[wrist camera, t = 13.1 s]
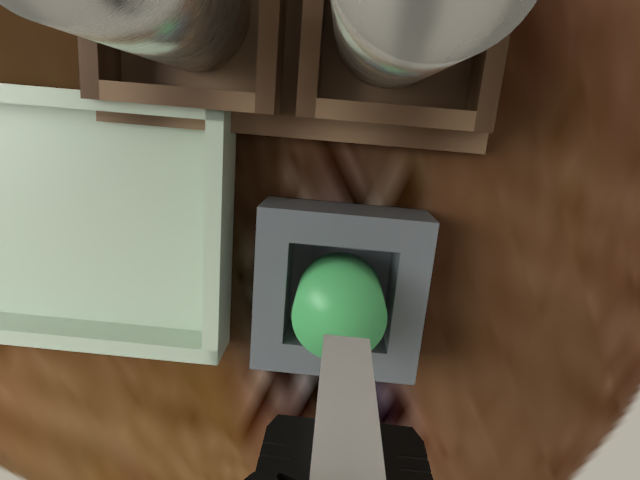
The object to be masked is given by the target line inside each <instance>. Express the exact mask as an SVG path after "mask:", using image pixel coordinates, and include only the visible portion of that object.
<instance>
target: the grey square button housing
mask: <svg viewBox="0 0 640 480" xmlns="http://www.w3.org/2000/svg"><path fill="white" fill-rule="evenodd" d="M439 224H440V223H439V222H438V221H437V220H436V219H435V218H434V217H433V216H432V215H431V214H430V213H429V212H428V211H427V210H420V209H409V208H398V207H387V206H375V205H364V204H353V203H342V202H331V201H319V200H308V199H297V198H286V197H274V196H267V197H266V198H265V199H264V200H263V201H262V202H261V203H260V204H259V205H258V206H257V218H256V240H255V261H254V283H253V304H252V326H251V348H250V369H256V370H266V371H276V372H287V373H297V374H307V375H317V376H320V366H321V358H320V357H318V356H316V355H314V354H312V353H311V352H310V351H308V350H307V349H306V348H305V347H304V346H303V345H302V344H301V343H300V341H299V340H298V338H297V337H296V335H295V332H294V330H293V326H292V320H291V313H292V307H293V303H294V300H295V296H296V292H297V288H298V285H299V281H300V278H301V276H302V273H303V272H304V270H305V269H306V267H307V266H308V265H309V264H310V263H311V262H312V261H314V260H315V259H317V258H318V257H320V256H322V255H325V254H329V253H334V252H345V253H350V254H354V255H356V256H359V257H360V258H362V259H364V260H365V261H366V262H368V263H369V264H370V265H371V266H372V267H373V269H374V270H375V272H376V273H377V275H378V278H379V280H380V284H381V288H382V292H383V297H384V301H385V305H386V309H387V326H386V330H385V333H384V335H383V337H382V339H381V340H380V342H379V343H378V344H377V345H376V347H375V348H374V349H372V350H371V354H372V363H373V371H374V380H375V381H378V382H388V383H398V384H408V385H415V380H416V373H417V367H418V360H419V354H420V347H421V341H422V334H423V328H424V321H425V315H426V308H427V302H428V295H429V289H430V282H431V276H432V269H433V263H434V256H435V250H436V243H437V237H438V230H439Z"/></svg>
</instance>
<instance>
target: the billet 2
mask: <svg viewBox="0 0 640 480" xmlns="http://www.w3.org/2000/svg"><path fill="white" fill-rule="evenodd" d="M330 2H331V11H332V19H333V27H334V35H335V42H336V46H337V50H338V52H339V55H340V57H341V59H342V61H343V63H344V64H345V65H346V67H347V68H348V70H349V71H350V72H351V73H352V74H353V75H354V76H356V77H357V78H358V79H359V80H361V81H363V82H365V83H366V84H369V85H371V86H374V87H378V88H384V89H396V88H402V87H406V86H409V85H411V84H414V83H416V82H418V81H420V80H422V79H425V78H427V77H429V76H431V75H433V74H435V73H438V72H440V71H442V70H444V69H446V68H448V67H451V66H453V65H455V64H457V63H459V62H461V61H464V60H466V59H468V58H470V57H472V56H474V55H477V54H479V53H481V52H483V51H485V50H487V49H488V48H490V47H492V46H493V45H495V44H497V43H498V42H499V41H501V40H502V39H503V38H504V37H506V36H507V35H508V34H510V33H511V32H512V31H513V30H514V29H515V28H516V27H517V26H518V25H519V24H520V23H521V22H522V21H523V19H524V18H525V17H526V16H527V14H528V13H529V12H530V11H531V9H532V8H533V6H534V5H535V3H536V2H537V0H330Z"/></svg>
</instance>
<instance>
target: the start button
mask: <svg viewBox="0 0 640 480" xmlns="http://www.w3.org/2000/svg"><path fill="white" fill-rule="evenodd" d="M291 320H292V326H293V330H294V332H295V335H296V337H297V338H298V340H299V341H300V343H301V344H302V345H303V346H304V347H305V348H306V349H307V350H308V351H310V352H311V353H312V354H314V355H316V356H318V357H320V358H321V356H322V346H323V336H324V334H327V335H337V336H348V337H358V338H368V339H370V346H371V350H372V349H374V348H375V347H376V345H377V344H378V343H379V342H380V340H381V339H382V337H383V335H384V333H385V330H386V326H387V309H386V305H385V301H384V297H383V292H382V288H381V284H380V280H379V278H378V275H377V273H376V272H375V270H374V269H373V267H372V266H371V265H370V264H369V263H368V262H366V261H365V260H364V259H362V258H360V257H359V256H356V255H354V254H350V253H345V252H334V253H329V254H325V255H322V256H320V257H318V258H317V259H315V260H314V261H312V262H311V263H310V264H309V265H308V266H307V267H306V269H305V270H304V272H303V273H302V276H301V278H300V281H299V285H298V288H297V292H296V296H295V300H294V303H293V307H292V313H291Z"/></svg>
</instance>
